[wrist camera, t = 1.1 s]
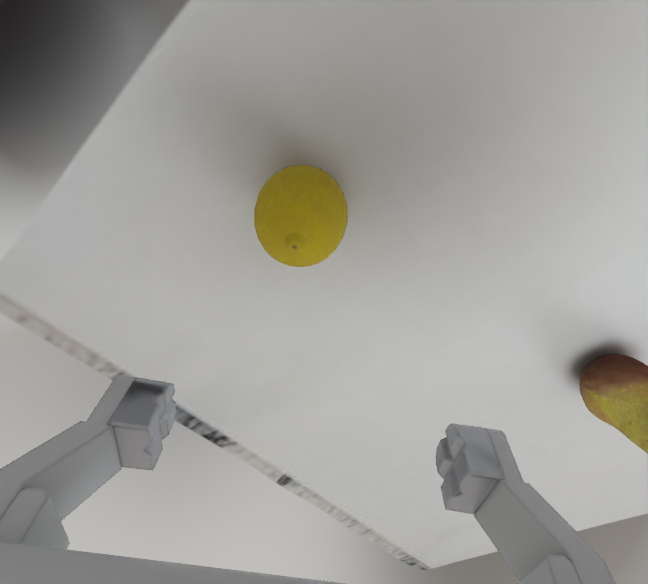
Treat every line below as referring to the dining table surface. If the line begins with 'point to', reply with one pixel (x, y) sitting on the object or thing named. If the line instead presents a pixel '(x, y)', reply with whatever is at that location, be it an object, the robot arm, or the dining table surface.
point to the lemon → (300, 215)
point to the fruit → (618, 395)
